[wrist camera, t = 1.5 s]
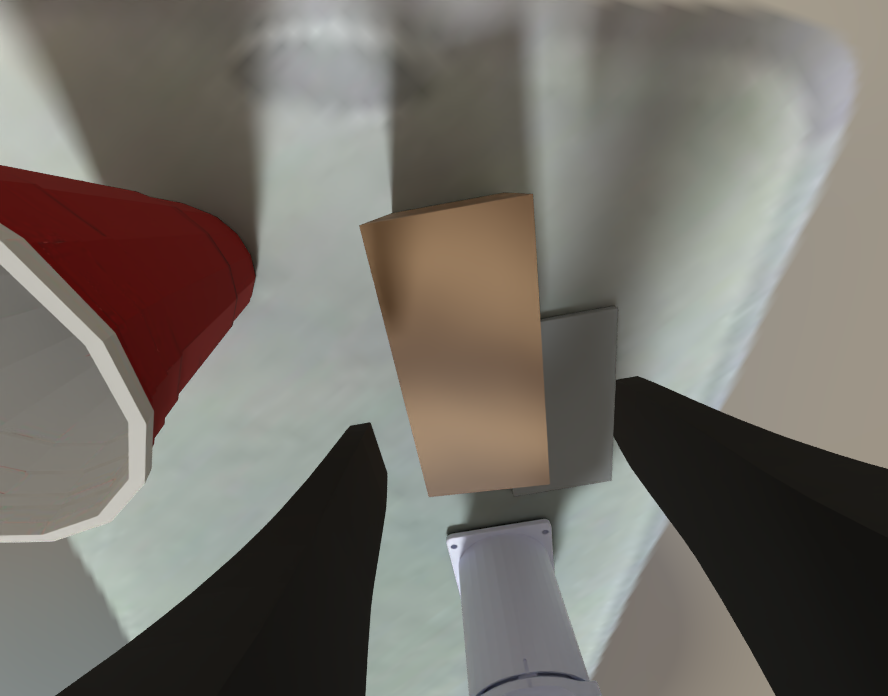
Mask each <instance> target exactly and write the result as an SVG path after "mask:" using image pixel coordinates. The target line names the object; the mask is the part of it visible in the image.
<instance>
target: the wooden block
mask: <svg viewBox="0 0 888 696" xmlns="http://www.w3.org/2000/svg"><path fill="white" fill-rule="evenodd" d="M359 226H360V230H361V234H362V238H363V242H364V246H365V250H366V254H367V258H368V261H369V265H370V269H371V273H372V277H373V281H374V285H375V289H376V293H377V297H378V300H379V304H380V308H381V312H382V316H383V320H384V324H385V328H386V332H387V336H388V340H389V343H390V347H391V351H392V355H393V359H394V363H395V367H396V371H397V375H398V379H399V382H400V386H401V390H402V394H403V398H404V402H405V406H406V410H407V414H408V418H409V421H410V425H411V429H412V433H413V437H414V441H415V445H416V449H417V453H418V457H419V460H420V464H421V468H422V472H423V476H424V480H425V484H426V488H427V492H428V496H429V497H434V496H444V495H453V494H463V493H472V492H482V491H491V490H501V489H510V488H520V487H529V486H539V485H548V484H550V477H549V460H548V443H547V426H546V409H545V392H544V375H543V358H542V341H541V324H540V307H539V289H538V272H537V255H536V238H535V221H534V204H533V194H524V193H499V194H494V195H488V196H483V197H478V198H472V199H467V200H461V201H456V202H450V203H445V204H439V205H434V206H428V207H423V208H418V209H412V210H407V211H401V212H396V213H391V214H389V215H386V216H383V217H381V218H378V219H375V220H373V221H370V222H367V223H365V224H362V225H359Z"/></svg>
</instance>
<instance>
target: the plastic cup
mask: <svg viewBox="0 0 888 696" xmlns="http://www.w3.org/2000/svg"><path fill="white" fill-rule="evenodd" d="M254 282H255V272H254V268H253V263H252V259H251V255H250V253H249V252H248V250H247V249H246V247H245V245H244V244H243V242H242V241H241V239H240V238H239V236H238V234H237V233H235V232H234V231H233V230H232V229H231V228H229V227H228V226H227V225H226V224H225V223H223V222H222V221H221V220H220V219H218V218H217V217H215V216H213V215H211V214H209V213H206V212H204V211H201V210H199V209H196V208H194V207H191V206H189V205H186V204H183V203H179V202H173V201H168V200H163V199H158V198H153V197H149V196H147V195H144V194H141V193H139V192H136V191H131V190H126V189H120V188H115V187H110V186H105V185H100V184H95V183H90V182H84V181H79V180H74V179H69V178H64V177H59V176H54V175H49V174H43V173H38V172H33V171H28V170H23V169H18V168H13V167H8V166H2V165H0V543H1V542H49V541H50V542H51V541H56V540H59V539H62V538H65V537H68V536H71V535H74V534H77V533H80V532H83V531H86V530H89V529H92V528H95V527H98V526H101V525H104V524H107V523H110V522H111V521H112V520H113V519H114V518H115V517H116V516H117V515H118V514H119V512H120V511H121V510H122V509H123V508H124V507H125V506H126V504H127V503H128V502H129V501H130V500H131V499H132V498H133V496H134V495H135V494H136V493H137V492H138V491H139V490H140V489H141V487H142V486H143V485H144V484H145V482H146V480H147V478H148V475H149V473H150V471H151V469H152V447H153V445H154V438H155V437H156V435H157V434H158V433H159V431H160V430H161V428H162V427H163V425H164V423H165V417H166V416H167V414H168V413H169V412H170V410H171V409H172V407H173V406H174V405H175V403H176V402H177V401H178V396H179V393H180V392H181V391H182V389H183V388H184V387H185V385H186V384H187V383H188V382H189V380H190V379H191V378H192V377H193V375H194V374H195V373H196V371H197V370H198V369H199V368H200V366H201V365H202V364H203V363H204V361H205V360H206V359H207V357H208V356H209V355H210V354H211V352H212V351H213V350H214V348H215V347H216V346H217V345H218V343H219V342H220V341H221V340H222V338H223V337H224V336H225V334H226V333H227V332H228V331H229V329H230V328H231V327H232V326H233V321H234V320H235V319H236V318H237V317H238V315H239V314H240V313H241V312H242V311H243V309H244V308H245V307H246V306H247V304H248V303H249V302H250V298H251V296H252V292H253V287H254Z"/></svg>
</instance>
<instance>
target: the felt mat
mask: <svg viewBox="0 0 888 696" xmlns="http://www.w3.org/2000/svg"><path fill="white" fill-rule="evenodd" d="M617 323H618V308H617V307H615V306H611V307H606V308H600V309H594V310H589V311H583V312H578V313H572V314H567V315H561V316H555V317H550V318H544V319H540V324H541V341H542V358H543V375H544V392H545V409H546V426H547V443H548V460H549V477H550V484H548V485H539V486H529V487H520V488H512V492H513V496H520V495H527V494H533V493H539V492H545V491H551V490H557V489H563V488H569V487H575V486H581V485H588V484H594V483H600V482H606V481H611V480H612V454H613V427H614V401H615V375H616V349H617Z"/></svg>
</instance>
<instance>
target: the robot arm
mask: <svg viewBox="0 0 888 696" xmlns="http://www.w3.org/2000/svg"><path fill="white" fill-rule="evenodd" d="M613 436H614V438H615V440H616V442H617V444H618V446H619V447H620V449H621V451H622V453H623V455H624V456H625V458H626V460H627V462H628V463H629V465H630V467H631V468H632V470H633V471H634V473H635V474H636V475H637V477H638V478H639V480H640V481H641V482H642V484H643V485H644V486H645V488H646V489H647V491H648V492H649V493H650V495H651V496H652V497H653V499H654V500H655V501H656V503H657V504H658V505H659V507H660V508H661V510H662V511H663V512H664V514H665V515H666V516H667V518H668V519H669V520H670V522H671V523H672V524H673V526H674V527H675V528H676V530H677V531H678V532H679V534H680V535H681V536H682V538H683V539H684V541H685V542H686V544H687V545H688V546H689V548H690V550H691V551H692V552H693V554H694V555H695V557H696V558H697V560H698V562H699V563H700V564H701V566H702V568H703V570H704V571H705V573H706V575H707V576H708V578H709V580H710V581H711V583H712V585H713V586H714V588H715V590H716V591H717V593H718V594H719V596H720V598H721V599H722V601H723V603H724V605H725V606H726V608H727V610H728V611H729V613H730V615H731V616H732V618H733V620H734V622H735V623H736V625H737V627H738V629H739V630H740V632H741V634H742V636H743V637H744V639H745V641H746V643H747V644H748V646H749V648H750V649H751V651H752V653H753V655H754V657H755V659H756V661H757V662H758V664H759V666H760V668H761V669H762V671H763V673H764V675H765V677H766V679H767V681H768V682H769V684H770V686H771V688H772V690H773V692H774V693H775V695H776V696H888V469H886V468H883V467H879V466H875V465H871V464H868V463H864V462H861V461H858V460H854V459H851V458H848V457H844V456H841V455H838V454H835V453H832V452H829V451H826V450H823V449H820V448H817V447H813V446H811V445H808V444H804V443H802V442H798V441H795V440H793V439H790V438H787V437H784V436H781V435H779V434H776V433H773V432H771V431H768V430H765V429H763V428H760V427H758V426H755V425H752V424H750V423H747V422H745V421H742V420H740V419H737V418H734V417H732V416H730V415H727V414H725V413H723V412H720V411H718V410H715V409H713V408H711V407H709V406H706V405H704V404H702V403H699V402H697V401H695V400H692V399H690V398H688V397H686V396H683V395H681V394H679V393H677V392H674V391H672V390H670V389H668V388H665V387H663V386H661V385H658V384H656V383H654V382H651V381H649V380H646V379H644V378H641V377H638V376H635V377H630V378H624V379H618V380H616V391H615V410H614V430H613ZM386 502H387V471H386V468H385V465H384V462H383V459H382V456H381V453H380V450H379V447H378V444H377V441H376V438H375V435H374V432H373V429H372V426H371V423H370V422H369V423H364V424H358V425H352V426H350V427H349V428H348V429H347V430H346V431H345V433H344V434H343V435H342V437H341V438H340V439H339V440H338V442H337V443H336V444H335V445H334V447H333V448H332V449H331V451H330V452H329V453H328V454H327V456H326V457H325V458H324V459H323V461H322V462H321V463H320V464H319V466H318V467H317V468H316V469H315V471H314V472H313V473H312V474H311V475H310V477H309V478H308V479H307V480H306V481H305V483H304V484H303V485H302V486H301V487H300V488H299V489H298V491H297V492H296V493H295V494H294V495H293V496H292V497H291V498H290V500H289V501H288V502H287V503H286V504H285V505H284V506H283V508H282V509H281V510H280V511H279V512H278V513H277V514H276V515H275V516H274V517H273V518H272V519H271V520H270V521H269V522H268V523H267V524H266V526H265V527H264V528H263V529H262V530H261V531H260V532H258V533H257V534H256V535H255V536H254V537H253V538H252V539H251V540H250V541H249V542H248V543H247V544H246V545H245V546H244V547H243V548H242V549H241V550H240V551H239V552H238V553H237V554H236V555H234V556H233V557H232V558H231V559H230V560H229V561H228V562H227V563H225V564H224V565H223V566H222V567H221V568H220V569H219V570H217V571H216V572H215V573H214V574H213V575H212V576H211V577H209V578H208V579H207V580H206V581H205V582H204V583H203V584H201V585H200V586H199V587H198V588H197V589H196V590H195V591H193V592H192V593H191V594H190V595H189V596H187V597H186V598H185V599H184V600H183V601H181V602H180V603H179V604H178V605H176V606H175V607H174V608H173V609H171V610H170V611H169V612H168V613H166V614H165V615H164V616H163V617H161V618H160V619H159V620H158V621H156V622H155V623H154V624H152V625H151V626H150V627H149V628H147V629H146V630H145V631H143V632H142V633H141V634H140V635H138V636H137V637H136V638H134V639H133V640H132V641H130V642H129V643H128V644H126V645H125V646H124V647H122V648H121V649H120V650H118V651H117V652H116V653H114V654H113V655H111V656H110V657H109V658H107V659H106V660H104V661H103V662H102V663H100V664H99V665H97V666H96V667H95V668H93V669H92V670H91V671H89V672H88V673H86V674H85V675H84V676H82V677H81V678H79V679H78V680H77V681H75V682H74V683H72V684H71V685H70V686H68V687H67V688H65V689H64V690H63V691H61V692H60V693H58V694H57V695H56V696H365V693H366V675H367V656H368V642H369V628H370V614H371V604H372V595H373V588H374V581H375V575H376V569H377V563H378V557H379V550H380V544H381V538H382V532H383V525H384V519H385V512H386ZM446 543H447V547H448V551H449V554H450V558H451V562H452V566H453V570H454V574H455V578H456V582H457V585H458V589H459V593H460V597H461V604H462V616H463V628H464V640H465V652H466V664H467V676H468V688H469V696H602V694H601V691H600V688H599V685H598V682H597V681H590V680H589V677H588V674H587V671H586V668H585V665H584V661H583V658H582V655H581V652H580V649H579V646H578V643H577V640H576V637H575V634H574V631H573V628H572V625H571V622H570V619H569V616H568V613H567V610H566V607H565V604H564V601H563V598H562V595H561V592H560V589H559V586H558V583H557V580H556V577H555V574H554V560H553V545H552V529H551V524H550V521H549V520H547V519H540V520H534V521H528V522H521V523H515V524H509V525H503V526H497V527H490V528H484V529H478V530H472V531H465V532H459V533H453V534H449V535H448V536H447V537H446Z"/></svg>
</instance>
